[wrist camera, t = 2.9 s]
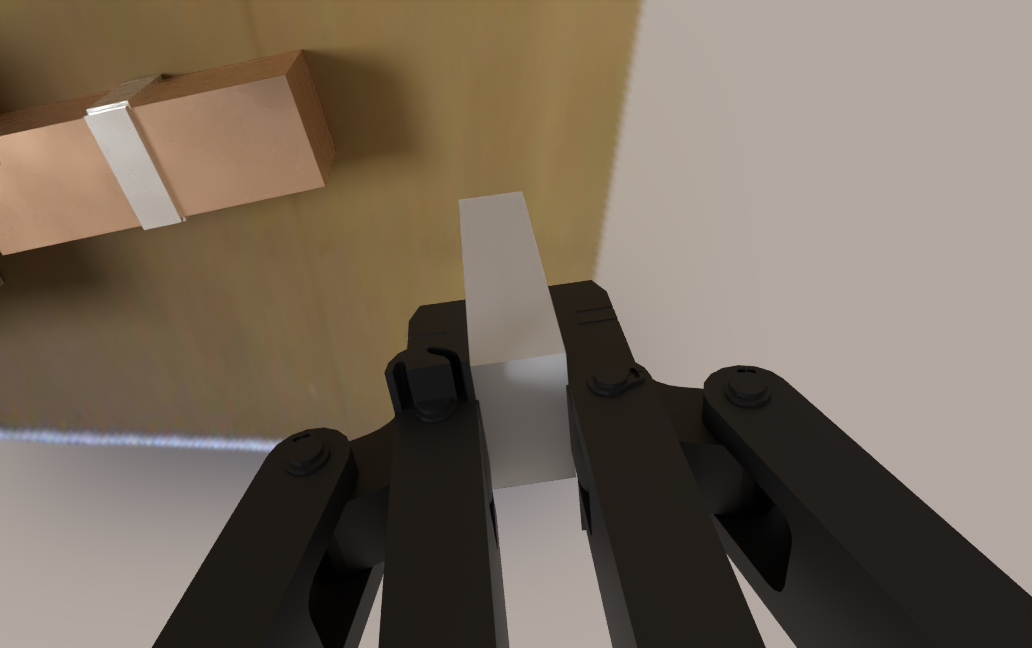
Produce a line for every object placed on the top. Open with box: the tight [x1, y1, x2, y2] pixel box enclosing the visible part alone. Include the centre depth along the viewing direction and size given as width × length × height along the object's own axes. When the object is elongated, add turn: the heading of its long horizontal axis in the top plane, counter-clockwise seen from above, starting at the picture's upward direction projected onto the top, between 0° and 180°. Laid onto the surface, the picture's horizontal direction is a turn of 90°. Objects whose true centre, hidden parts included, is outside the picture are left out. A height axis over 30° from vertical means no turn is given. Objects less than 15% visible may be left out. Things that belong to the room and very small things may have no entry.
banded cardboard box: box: [0, 49, 336, 255], centre depth 26 cm, size 12×4×4 cm, turn 100°
